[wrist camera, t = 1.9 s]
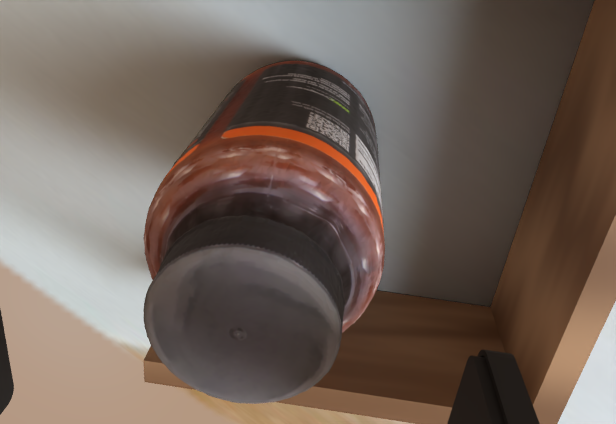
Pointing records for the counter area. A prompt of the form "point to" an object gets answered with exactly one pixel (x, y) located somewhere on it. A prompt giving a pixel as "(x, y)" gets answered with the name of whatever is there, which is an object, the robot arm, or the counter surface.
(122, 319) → the counter surface
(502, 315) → the angled wooden boards
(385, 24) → the counter surface
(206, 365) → the supplement bottle
